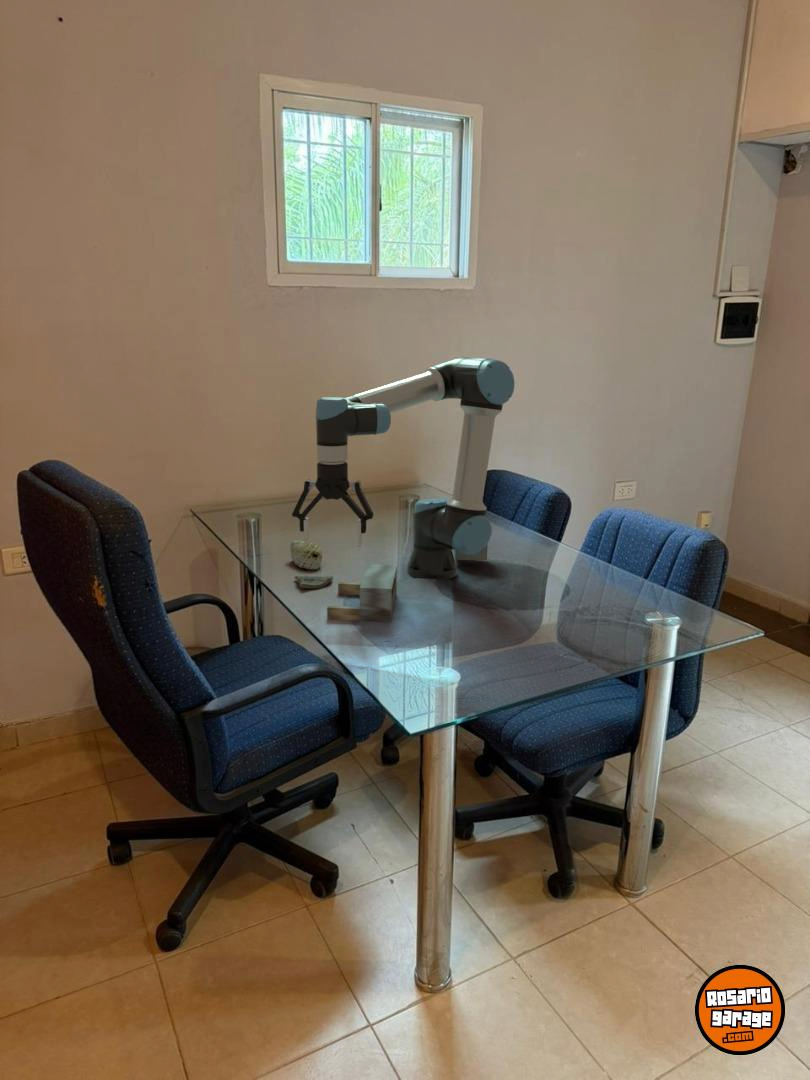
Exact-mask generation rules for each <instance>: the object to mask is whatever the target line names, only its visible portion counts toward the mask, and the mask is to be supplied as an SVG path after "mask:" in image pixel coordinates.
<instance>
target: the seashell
mask: <svg viewBox="0 0 810 1080" xmlns="http://www.w3.org/2000/svg"><path fill="white" fill-rule="evenodd" d="M290 557H291V559H292V561H293V563H294V564H295V565H296V566H297V567H299V568H301V569H307V570H318V569H320V568H321V564H322V560H323V550H322V547H321V546H320V545H318V544H317V543H315V542H312V541H309V543H308V545H304V540H303V541H302V540H292V541H291V543H290Z"/></svg>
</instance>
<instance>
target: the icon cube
mask: <svg viewBox="0 0 810 1080" xmlns="http://www.w3.org/2000/svg"><path fill="white" fill-rule="evenodd" d="M488 545H489V542H488V543H487V545H486V546H485V547H484V548H482V550H481V551H479V552H478V553H475V554H470V555H469V554H464V553H459V552H456V551H455V550H453V552H454V560H455V561H458V560H460V561H461V560H462V561H486V562H487V560H488V548H489V547H488Z"/></svg>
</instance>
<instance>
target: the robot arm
mask: <svg viewBox="0 0 810 1080" xmlns="http://www.w3.org/2000/svg"><path fill="white" fill-rule="evenodd" d="M514 390H515V378H514V373H513V372H512V369H510V366H509V365H508V364H507V363H506V362H504V361H502V360H498V359H495V358H494V359H493V358H473V357H460V358H455V359H452V360H449V361H445V362H442V363H439V364H435V365H434V366H430V367H428V368H426V369H425V370H424V372H423V373H421V374H417V375H414V376H411V377H407V378H404V379H402V380H398V381H395V382H392V383H389V384H386V385H383V386H380V387H376V388H373V389H370V390H367V391H364V392H360V393H356V394H354V395H351V396H347V397H341V396H340V397H337V396H336V397H335V396H333V397H331V396H330V397H329V396H327V397H321V398H318V399H317V401H316V407H315V420H316V422H315V423H316V425H315V427H316V430H315V431H316V460H317V461H318V462H317V463H316V476H317V478H316V481H315V480H314V481H313V480H311V479H309V478H307V479H306V480H305V481H304V484H303V491H302V493H301V495H300V497H299V499H298V501H297V503H296V504H295V507H294V509H293V512H291V516H292V517H293V518H297V519H298V521H299V530H300V532H303V542H304V545H308V543H309V542H310V523H309V522H310V520H309V517H307V516H308V514H309V513H310V512H311V511H312V510H313V508H314V507H315V506H316V505H317V504H318V502H319V501H320V500H321V499H322V498H324V499H325V500H340V499H342V500H343V502H345V503H346V504H347V506H349V508H350V509H351V511H352V512H353V513H354V514H355V515H356V516H357V517H358V520H357V547H358V548H361V547H362V545H363V534H366V532H367V521H368V520H372V519H373V517H374V515H375V514H374V512H373V510H372V508H371V506H370V504H369V501H368V500H367V497H366V496H365V494H364V492H363V490H362V485H361V481H360V480H356V481H351V482H350V481H349V477H348V476H349V473H348V468H349V466H348V462H347V461H348V455H349V453H348V441H349V440H348V439H349V438H348V437H352V436H353V437H354V436H365V435H366V436H369V435H375V436H377V435H380V434H385V433H386V432H387V431H388V430H389V429H390V427H391V424H392V421H391V420H392V416H391V414H392V413H394V412H398V411H401V410H404V409H407V408H410V407H412V406H413V407H414V406H416V405H419V404H422V403H424V402H425V403H426V402H428V401H431V400H432V401H435V402H440V401H442V400H447V399H458V400H460V404H459V407H460V408H461V409H462V411H463V412H464V413H463V415H464V416H463V423H462V429H461V434H460V435H461V436H460V442H459V450H458V456H457V464H456V469H455V477H454V482H453V483H454V484H453V491H452V496H451V498H444V497H442V498H440V497H439V498H425V499H419V500H418V501H416V502H415V504H414V507H413V543H412V544H413V545H412V551H411V554H410V556H409V560H408V562H407V564H406V572H407V573H408V575H409V576H411V577H412V578H414V579H419V580H420V579H423V580H425V579H426V580H445V581H447V580H450V579H452V578H454V577H456V576H457V570H458V569H457V564H456V560H455V556H454V553H453V551H454V550H455V551H456V552H459V553H464V554H469V555H470V554H475V553H478V552H479V551H481V550H482V548H484V547H485V546H486V545H487V543H488V544H489V542H490V541H491V540H490V539H491V537H492V532H493V528H492V527H493V526H492V523H491V522H490V520H489V518H488V517H486V515H487V509H488V508H487V506H486V505H485V504H484V502H483V501H484V499H483V498H484V492H485V486H486V480H487V473H488V467H489V466H488V465H489V461H490V460H489V459H490V455H491V454H490V453H491V447H492V439H493V433H494V427H495V422H496V421H495V420H496V417H497V416H498V415H499V414H501V413H502V411H503V406H504V404H506V403H507V402H508V401H509V400H510V398H512V397H513V395H514ZM314 487H315V488H316V489H317V490H318V494H317V495H316V496H315V498H314V499H312V501H311V502H310V503H309V504H308V505H307V506H306V508H305V509H304V510H303V511H302V512H301V509H302V507H303V505H304V502H305V500H306V499H307V497H308V495H309V493H310V491H311V490H313V488H314ZM349 488H351V491H354V492H355V494H356V496H357V498H358V500H359V502H360V504H361V506H362V508H363V510H362V509H361V507H360V506H359V505H358V504H357V503H356V502H355V501H354V499H353V498H352V497H351V496H350V494H349V493H348V490H349ZM452 550H453V551H452Z"/></svg>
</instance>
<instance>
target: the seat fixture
mask: <svg viewBox="0 0 810 1080" xmlns="http://www.w3.org/2000/svg"><path fill="white" fill-rule="evenodd" d="M397 584H398V565H397V564H380V563H379V564H377V563H375V564H374V563H368V564H367V568H366V569H365V572H364V575H363V578H362V580H361V582H343V581H341V582H338V583H337V594H338V595H345V596H346V595H347V596H348V595H349V596H350V595H351V596H359V607H358V606H342V605H341V606H339V605H337V606H336V605H335V606H334V605H328V606H327V607H326V612H327V613H326V619H327V620H338V621H339V620H341V621H363V622H365V621H367V622H386V623H388V622H389V623H390V622H392V619H393V618H392V617H393V614H394V613H393V612H394V609H395V604H396V598H397V592H398V591H397V590H398V589H397Z"/></svg>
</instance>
